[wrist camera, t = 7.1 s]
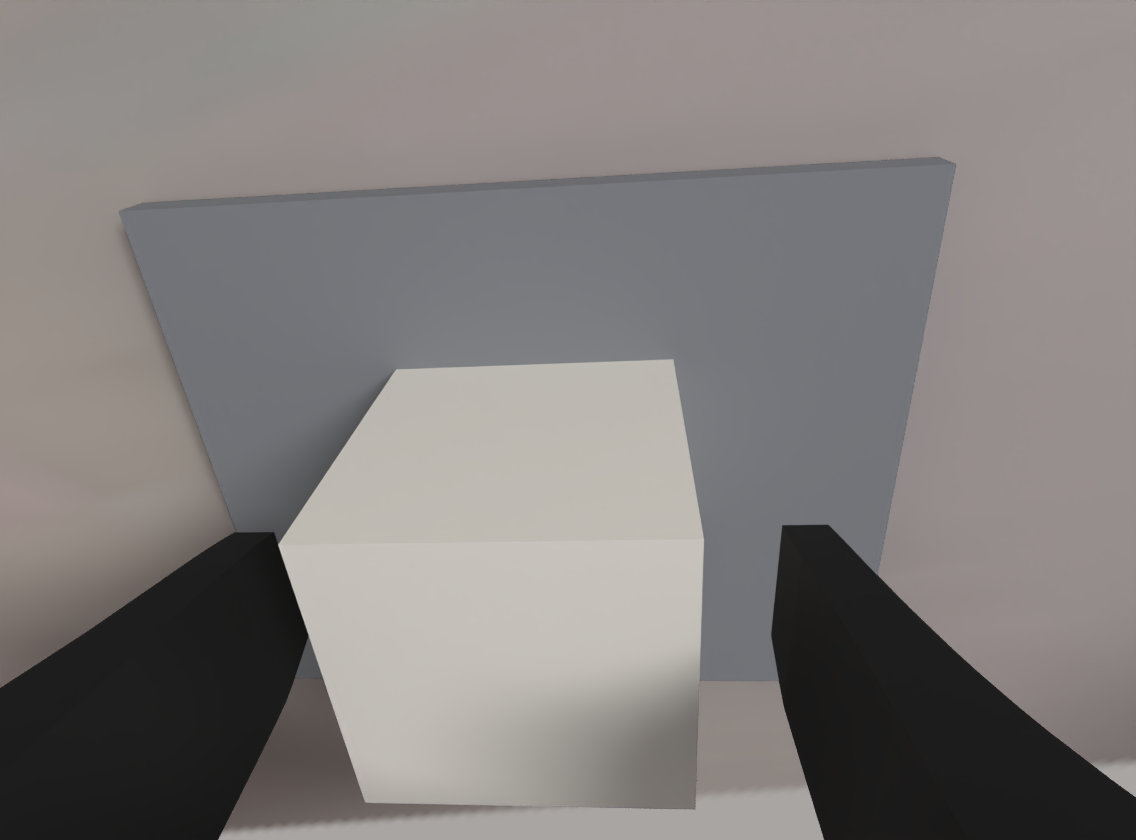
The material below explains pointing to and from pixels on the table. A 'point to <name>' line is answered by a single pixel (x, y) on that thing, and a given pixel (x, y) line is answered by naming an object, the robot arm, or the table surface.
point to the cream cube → (511, 588)
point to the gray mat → (576, 334)
